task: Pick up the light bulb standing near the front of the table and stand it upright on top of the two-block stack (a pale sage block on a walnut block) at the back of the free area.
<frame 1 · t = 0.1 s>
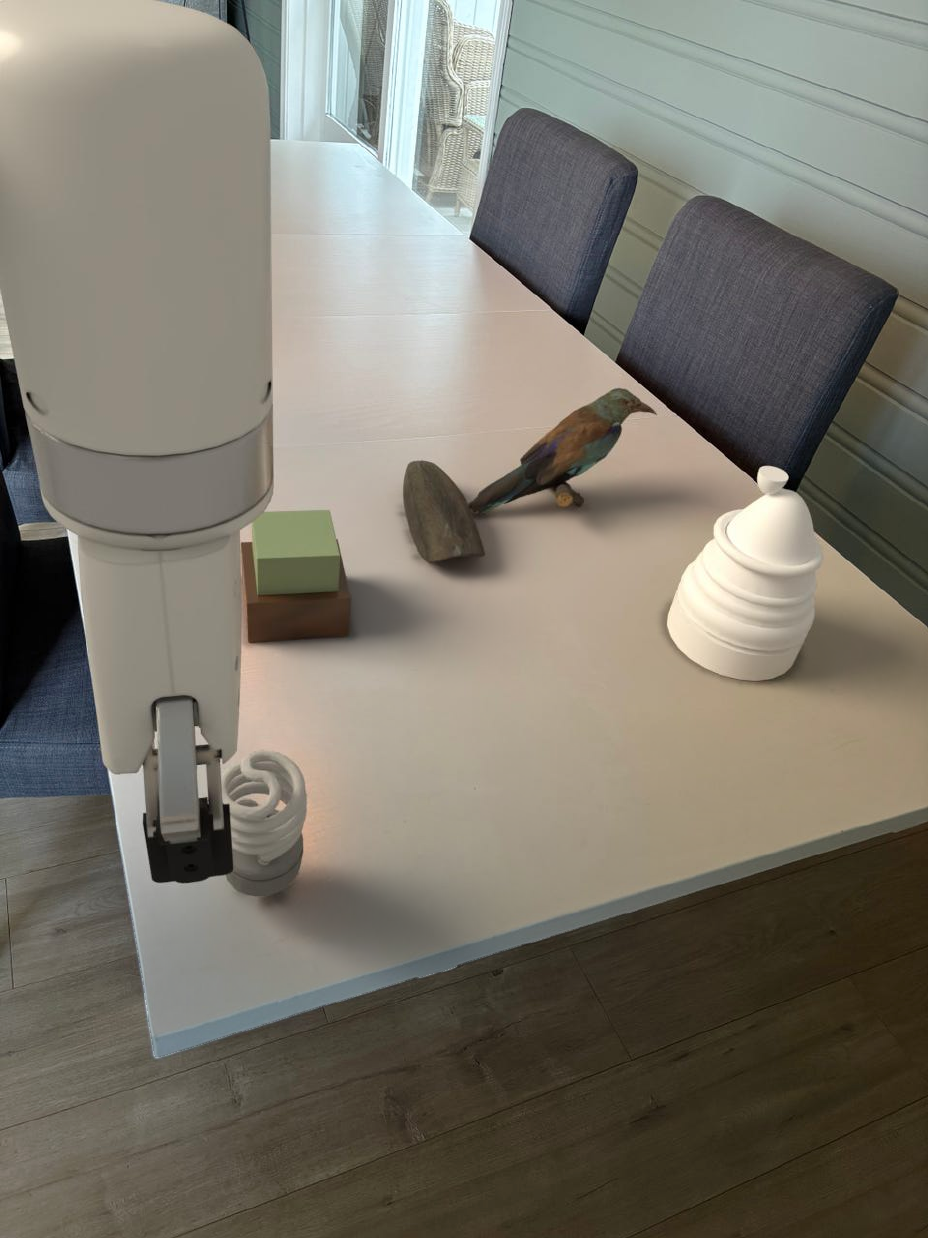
hand: (191, 781, 41), 22 cm above the table, tool pointing down, fingers open, 9 cm apart
base block: (294, 607, 85), on the table, touching top block
bird figurine: (552, 504, 105), on the table
honey pot: (730, 637, 91), on the table
decorative stone: (433, 529, 98), on the table
light bulb: (263, 887, 63), on the table
top block: (294, 569, 82), point 4 cm above the table, touching base block
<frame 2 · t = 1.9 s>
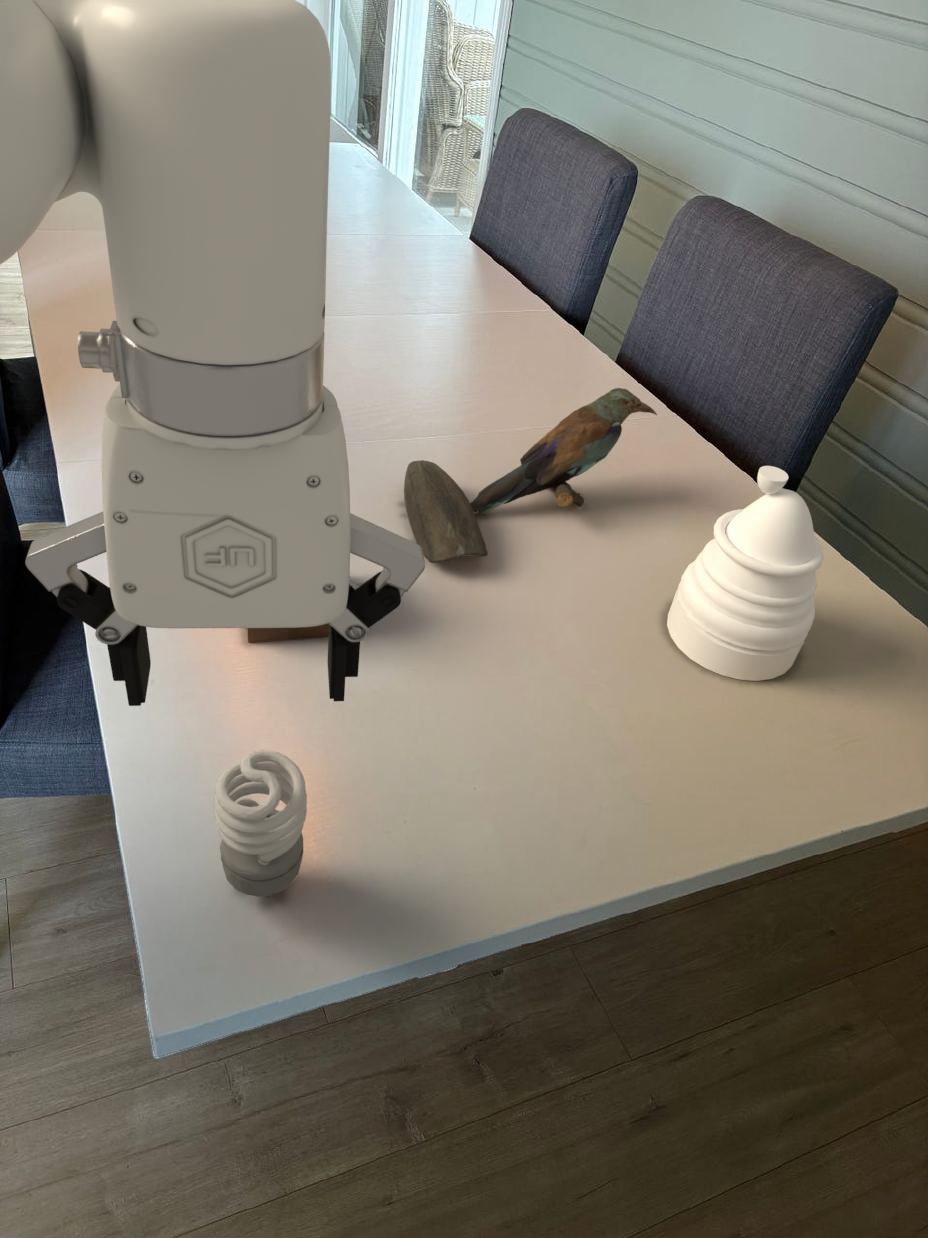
hand: (240, 683, 46), 22 cm above the table, tool pointing down, fingers open, 9 cm apart
nothing on the table moved.
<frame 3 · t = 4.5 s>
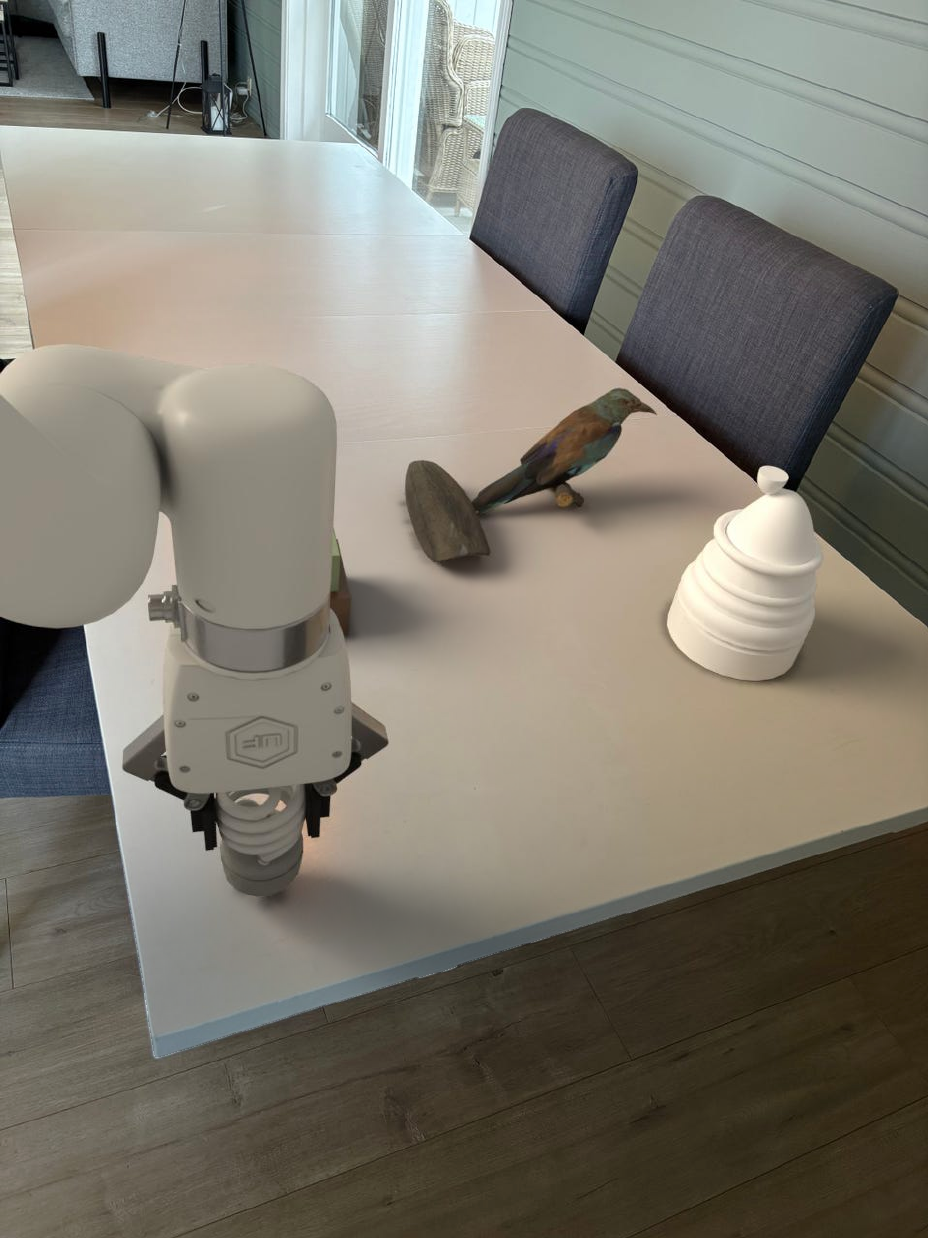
hand: (261, 824, 58), 7 cm above the table, tool pointing down, fingers closed on light bulb, 5 cm apart
light bulb: (263, 887, 63), on the table, touching gripper
everything else where it was.
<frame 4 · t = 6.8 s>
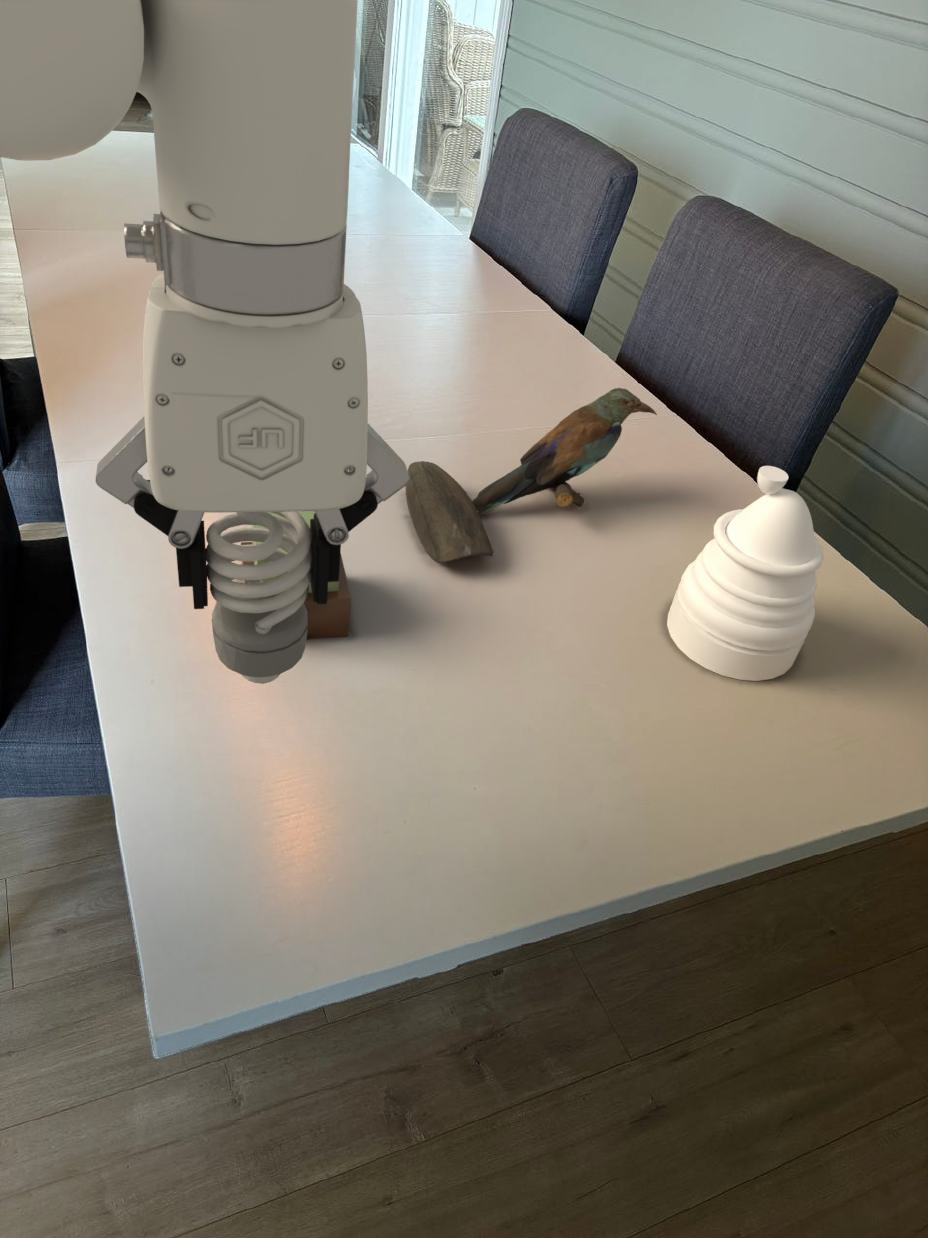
hand: (260, 588, 50), 23 cm above the table, tool pointing down, fingers closed on light bulb, 5 cm apart
light bulb: (261, 681, 55), point 16 cm above the table, touching gripper
everything else where it was.
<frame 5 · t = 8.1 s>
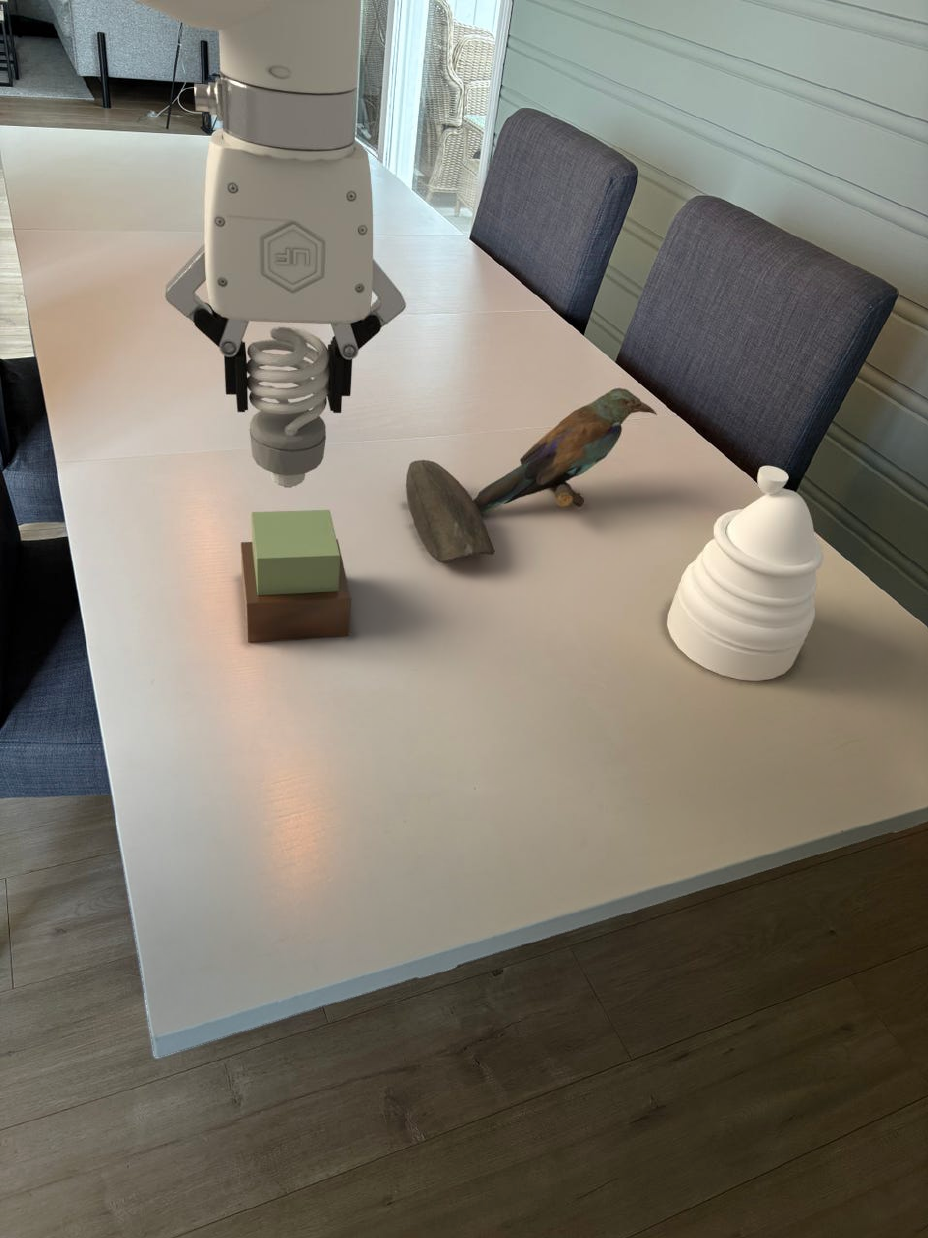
hand: (288, 401, 63), 25 cm above the table, tool pointing down, fingers closed on light bulb, 5 cm apart
light bulb: (287, 488, 68), point 18 cm above the table, touching gripper
everything else where it was.
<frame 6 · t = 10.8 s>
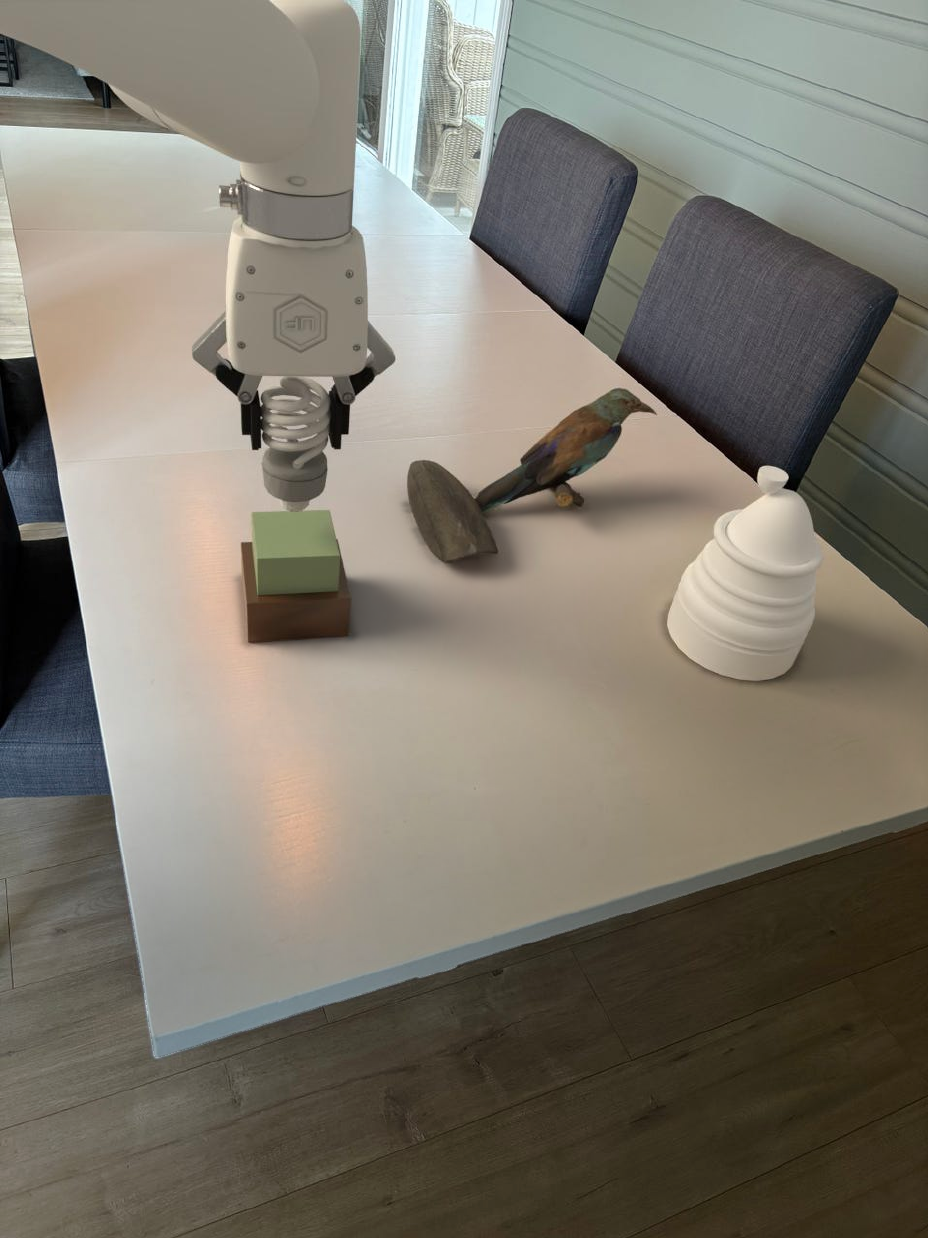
hand: (295, 439, 74), 18 cm above the table, tool pointing down, fingers closed on light bulb, 5 cm apart
light bulb: (294, 512, 78), point 11 cm above the table, touching gripper
everything else where it was.
when the fingers open (15 cm above the table, at t = 12.0 s): light bulb stays where it is, resting on top block.
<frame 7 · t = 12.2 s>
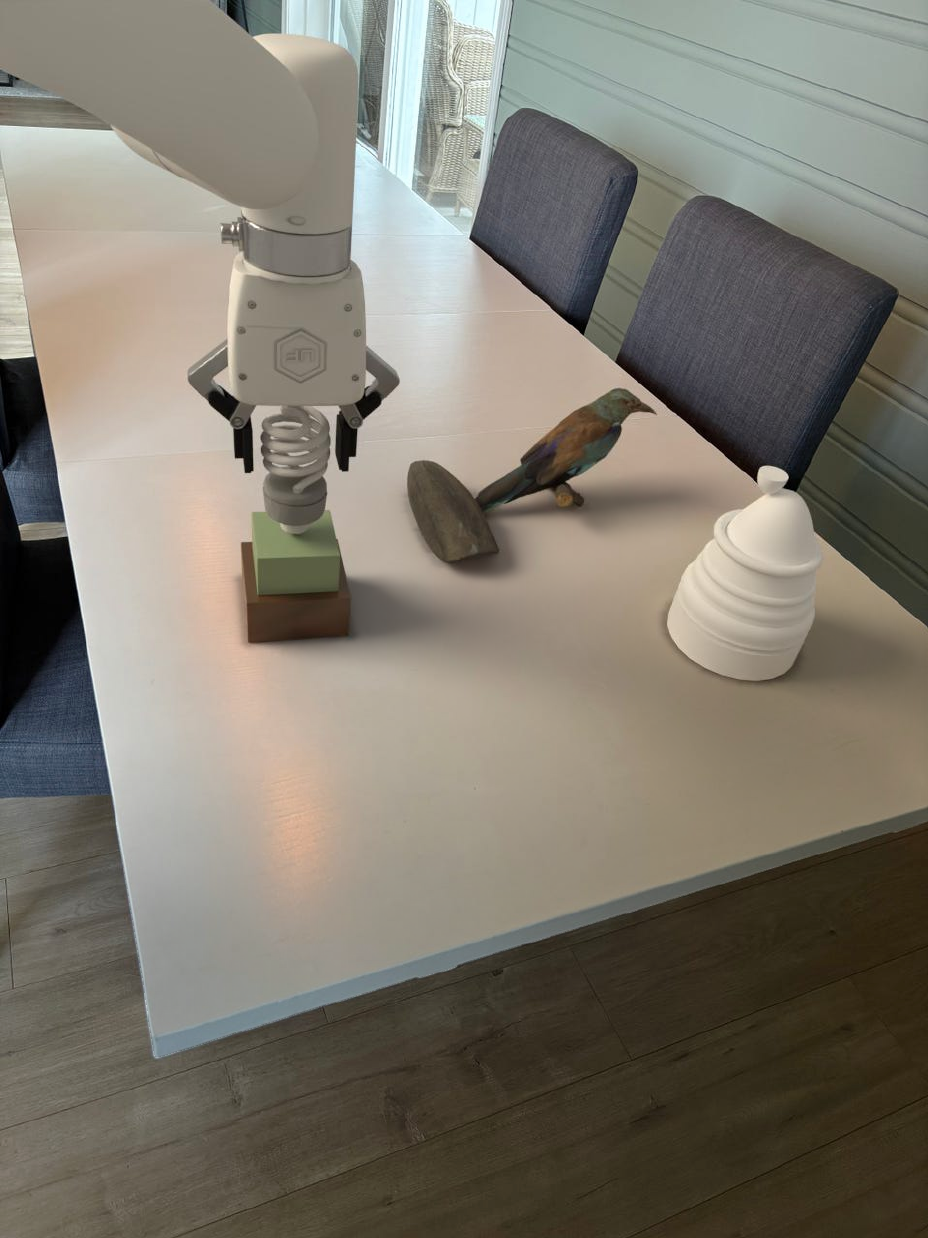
hand: (295, 462, 75), 16 cm above the table, tool pointing down, fingers open, 7 cm apart
light bulb: (294, 535, 80), point 8 cm above the table, touching top block
top block: (294, 569, 82), point 4 cm above the table, touching base block, light bulb
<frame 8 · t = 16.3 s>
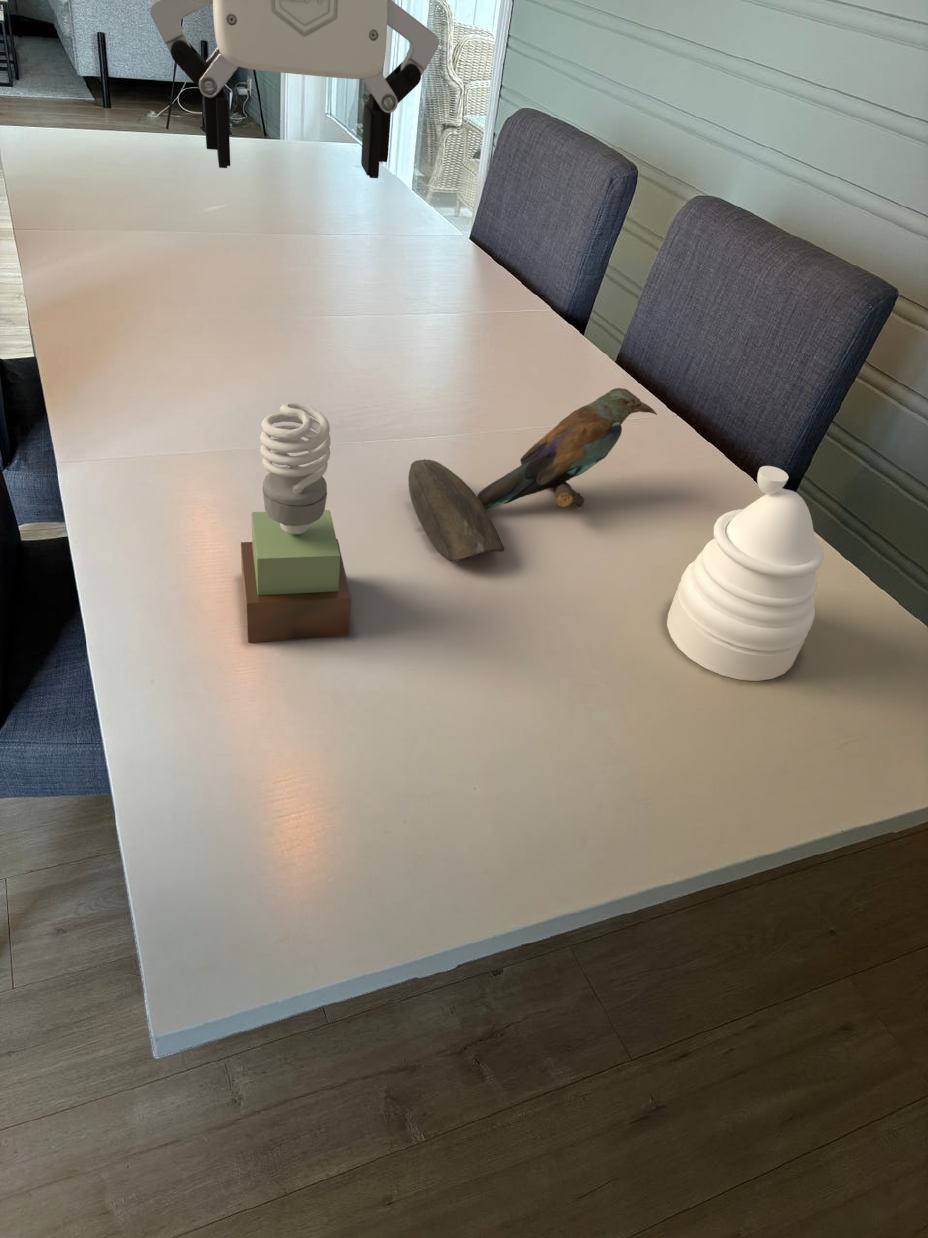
hand: (298, 167, 61), 38 cm above the table, tool pointing down, fingers open, 9 cm apart
at the end: light bulb 0.0 cm off-centre on the top block, point 3.8 cm above the top block's base; light bulb tilted 0°; top block 0.0 cm off-centre on the base block, point 4.5 cm above the base block's base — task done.
